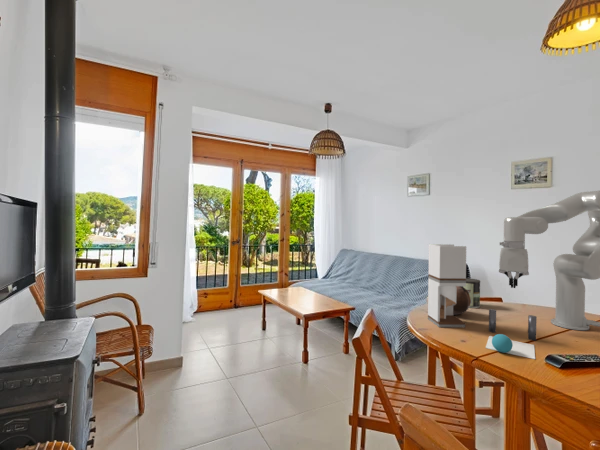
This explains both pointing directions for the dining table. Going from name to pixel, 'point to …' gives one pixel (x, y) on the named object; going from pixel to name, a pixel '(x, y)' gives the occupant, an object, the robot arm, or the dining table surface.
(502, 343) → the ball
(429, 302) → the white tower on base
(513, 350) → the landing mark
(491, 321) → the left post
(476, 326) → the dining table surface
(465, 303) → the wooden sphere
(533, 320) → the right post
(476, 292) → the coffee can
